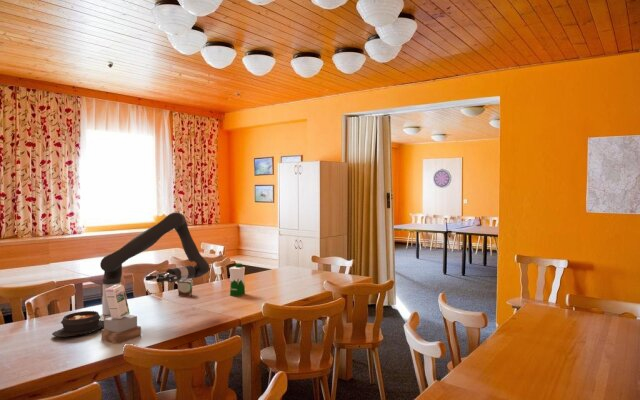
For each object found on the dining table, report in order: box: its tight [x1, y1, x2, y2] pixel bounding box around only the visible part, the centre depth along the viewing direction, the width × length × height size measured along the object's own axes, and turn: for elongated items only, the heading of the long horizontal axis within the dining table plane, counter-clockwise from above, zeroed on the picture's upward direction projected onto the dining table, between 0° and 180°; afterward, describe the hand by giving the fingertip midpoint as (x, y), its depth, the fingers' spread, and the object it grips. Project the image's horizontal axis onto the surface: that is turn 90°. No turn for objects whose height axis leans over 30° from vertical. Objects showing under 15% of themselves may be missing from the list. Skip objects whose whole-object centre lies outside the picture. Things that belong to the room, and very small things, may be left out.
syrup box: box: [105, 284, 131, 319], centre depth 195 cm, size 6×6×14 cm
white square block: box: [103, 314, 138, 333], centre depth 196 cm, size 10×10×5 cm
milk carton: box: [228, 262, 246, 297], centre depth 276 cm, size 9×9×20 cm
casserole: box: [51, 310, 104, 338], centre depth 205 cm, size 25×19×8 cm
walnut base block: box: [101, 325, 142, 345], centre depth 196 cm, size 12×12×5 cm
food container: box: [176, 278, 195, 298], centre depth 277 cm, size 12×6×10 cm, turn 65°
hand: (151, 279), depth 211 cm, fingers open, 8 cm apart
